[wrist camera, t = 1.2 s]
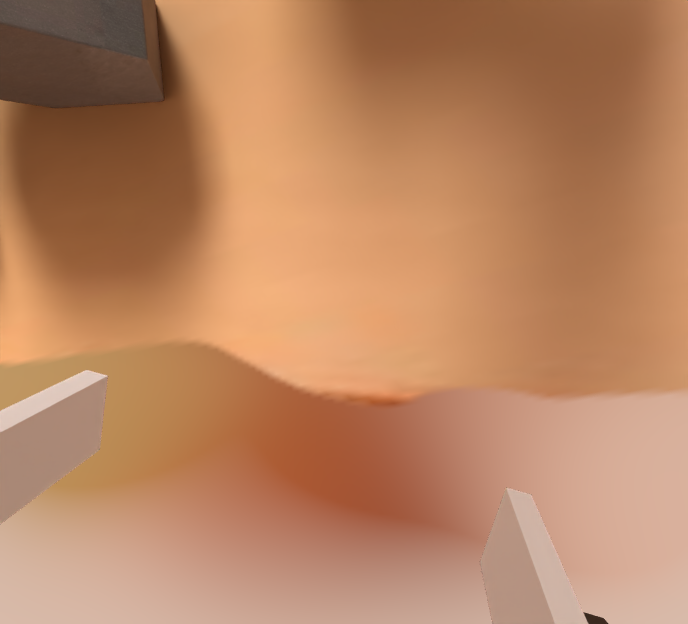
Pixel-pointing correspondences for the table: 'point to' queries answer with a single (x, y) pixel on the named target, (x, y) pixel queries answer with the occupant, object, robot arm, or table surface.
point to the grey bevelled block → (79, 52)
